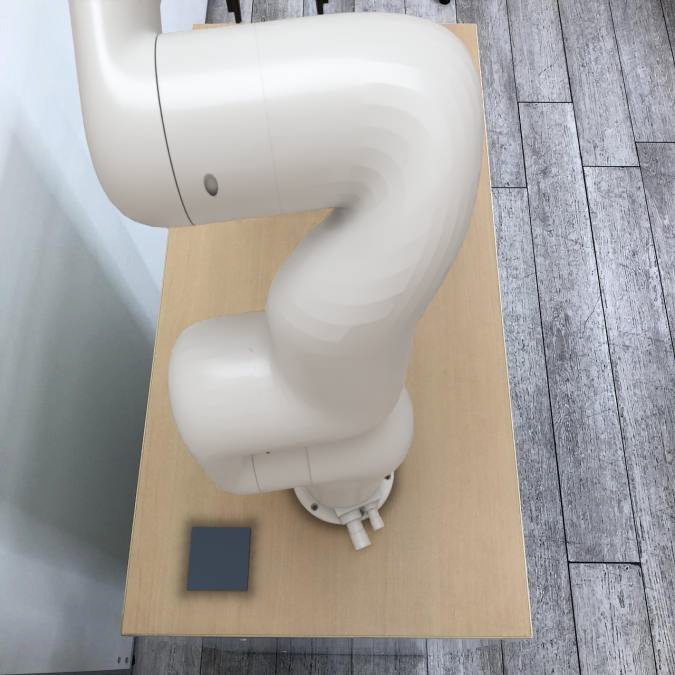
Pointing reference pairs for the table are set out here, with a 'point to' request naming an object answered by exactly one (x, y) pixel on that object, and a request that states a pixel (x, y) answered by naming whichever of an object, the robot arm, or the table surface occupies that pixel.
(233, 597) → the table surface
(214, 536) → the mat
